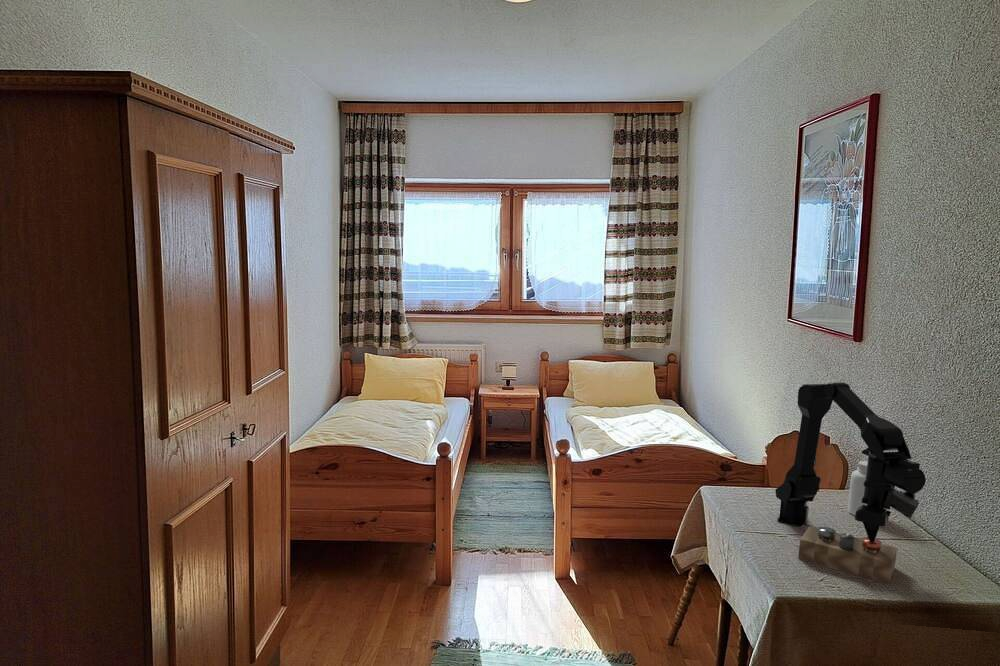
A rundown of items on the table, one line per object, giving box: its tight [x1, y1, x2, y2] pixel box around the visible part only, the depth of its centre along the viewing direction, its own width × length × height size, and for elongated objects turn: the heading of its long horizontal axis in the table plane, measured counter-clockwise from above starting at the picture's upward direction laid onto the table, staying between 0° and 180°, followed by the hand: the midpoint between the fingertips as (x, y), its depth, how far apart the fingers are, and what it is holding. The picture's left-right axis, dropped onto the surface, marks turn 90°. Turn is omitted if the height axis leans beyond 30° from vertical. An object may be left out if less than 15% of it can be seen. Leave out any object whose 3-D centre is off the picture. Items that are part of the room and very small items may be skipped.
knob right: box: [862, 536, 882, 553], centre depth 176 cm, size 4×4×7 cm
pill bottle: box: [847, 460, 868, 516], centre depth 210 cm, size 8×8×15 cm
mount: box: [797, 526, 898, 584], centre depth 179 cm, size 20×10×5 cm, turn 56°
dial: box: [839, 532, 855, 551], centre depth 176 cm, size 3×3×3 cm
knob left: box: [817, 526, 837, 542], centre depth 182 cm, size 4×4×7 cm
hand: (871, 540), depth 175 cm, fingers closed, pressing on knob right
